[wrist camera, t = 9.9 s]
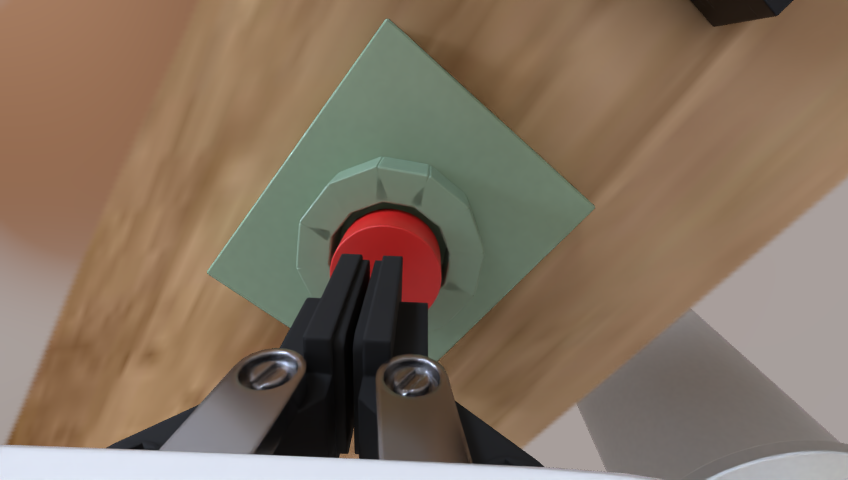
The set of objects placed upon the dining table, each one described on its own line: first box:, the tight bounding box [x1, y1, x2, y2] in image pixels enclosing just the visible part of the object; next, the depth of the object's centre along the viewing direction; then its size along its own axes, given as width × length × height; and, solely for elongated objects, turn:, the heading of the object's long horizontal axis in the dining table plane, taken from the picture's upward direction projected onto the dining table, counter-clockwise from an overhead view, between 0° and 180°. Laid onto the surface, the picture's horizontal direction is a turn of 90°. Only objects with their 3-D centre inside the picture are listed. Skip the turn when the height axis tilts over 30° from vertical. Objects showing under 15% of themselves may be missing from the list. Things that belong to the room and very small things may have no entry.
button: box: [330, 209, 442, 309], centre depth 14 cm, size 4×4×2 cm
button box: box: [207, 19, 595, 361], centre depth 16 cm, size 12×10×4 cm
